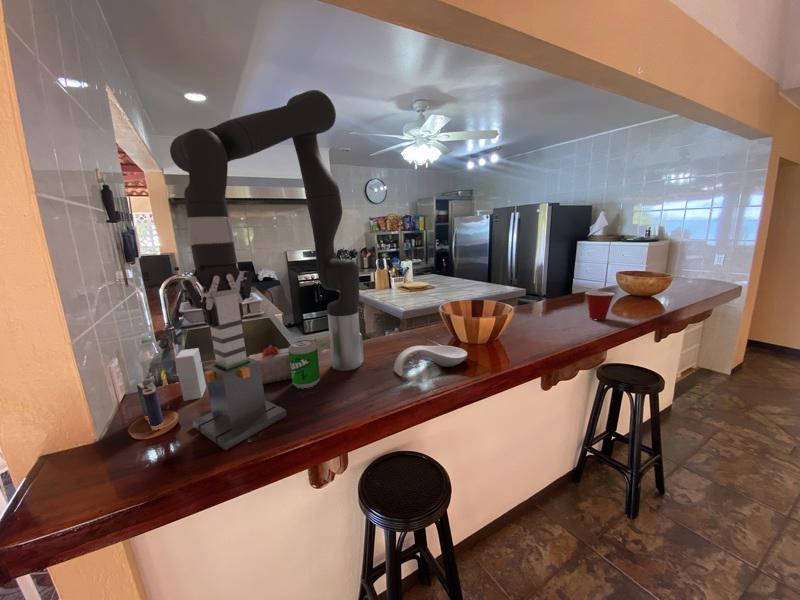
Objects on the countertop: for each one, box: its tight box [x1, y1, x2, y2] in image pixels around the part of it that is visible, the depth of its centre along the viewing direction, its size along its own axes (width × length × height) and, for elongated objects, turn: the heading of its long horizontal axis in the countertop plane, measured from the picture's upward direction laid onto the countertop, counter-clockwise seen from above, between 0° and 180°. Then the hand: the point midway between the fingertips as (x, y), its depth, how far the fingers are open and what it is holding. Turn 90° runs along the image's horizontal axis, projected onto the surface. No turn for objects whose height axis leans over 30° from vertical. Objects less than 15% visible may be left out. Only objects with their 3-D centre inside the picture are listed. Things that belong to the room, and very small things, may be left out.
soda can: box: [287, 339, 321, 390], centre depth 88 cm, size 8×8×12 cm
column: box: [204, 288, 248, 372], centre depth 68 cm, size 5×5×24 cm
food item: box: [248, 344, 292, 385], centre depth 92 cm, size 14×8×10 cm, turn 114°
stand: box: [192, 356, 287, 451], centre depth 71 cm, size 14×14×14 cm
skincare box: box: [174, 347, 207, 402], centre depth 84 cm, size 6×4×12 cm
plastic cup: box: [585, 291, 616, 321], centre depth 139 cm, size 11×11×12 cm
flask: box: [136, 377, 164, 427], centre depth 72 cm, size 9×3×11 cm, turn 48°
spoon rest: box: [393, 345, 468, 377], centre depth 97 cm, size 24×12×7 cm, turn 116°
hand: (225, 322), depth 67 cm, fingers closed on column, 4 cm apart
